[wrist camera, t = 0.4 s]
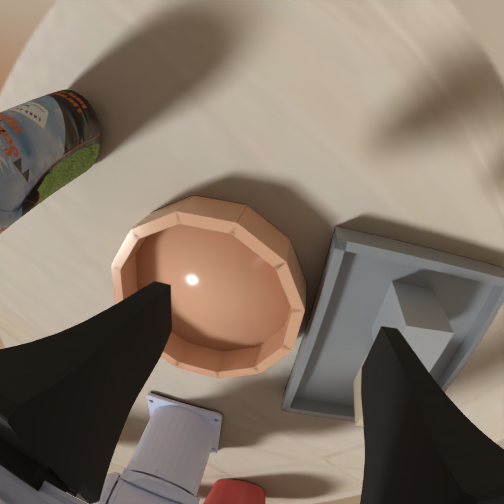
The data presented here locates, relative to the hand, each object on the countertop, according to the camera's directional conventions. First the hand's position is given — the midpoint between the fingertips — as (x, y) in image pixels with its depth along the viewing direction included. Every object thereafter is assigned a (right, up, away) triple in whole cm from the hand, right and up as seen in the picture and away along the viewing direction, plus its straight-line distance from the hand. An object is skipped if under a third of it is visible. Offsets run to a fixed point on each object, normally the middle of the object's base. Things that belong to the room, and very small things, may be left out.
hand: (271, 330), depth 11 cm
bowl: (-3, 0, +12) cm, 12 cm away
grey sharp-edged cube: (+9, -1, +9) cm, 13 cm away
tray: (+10, -4, +11) cm, 15 cm away
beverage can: (-13, +10, +9) cm, 19 cm away
